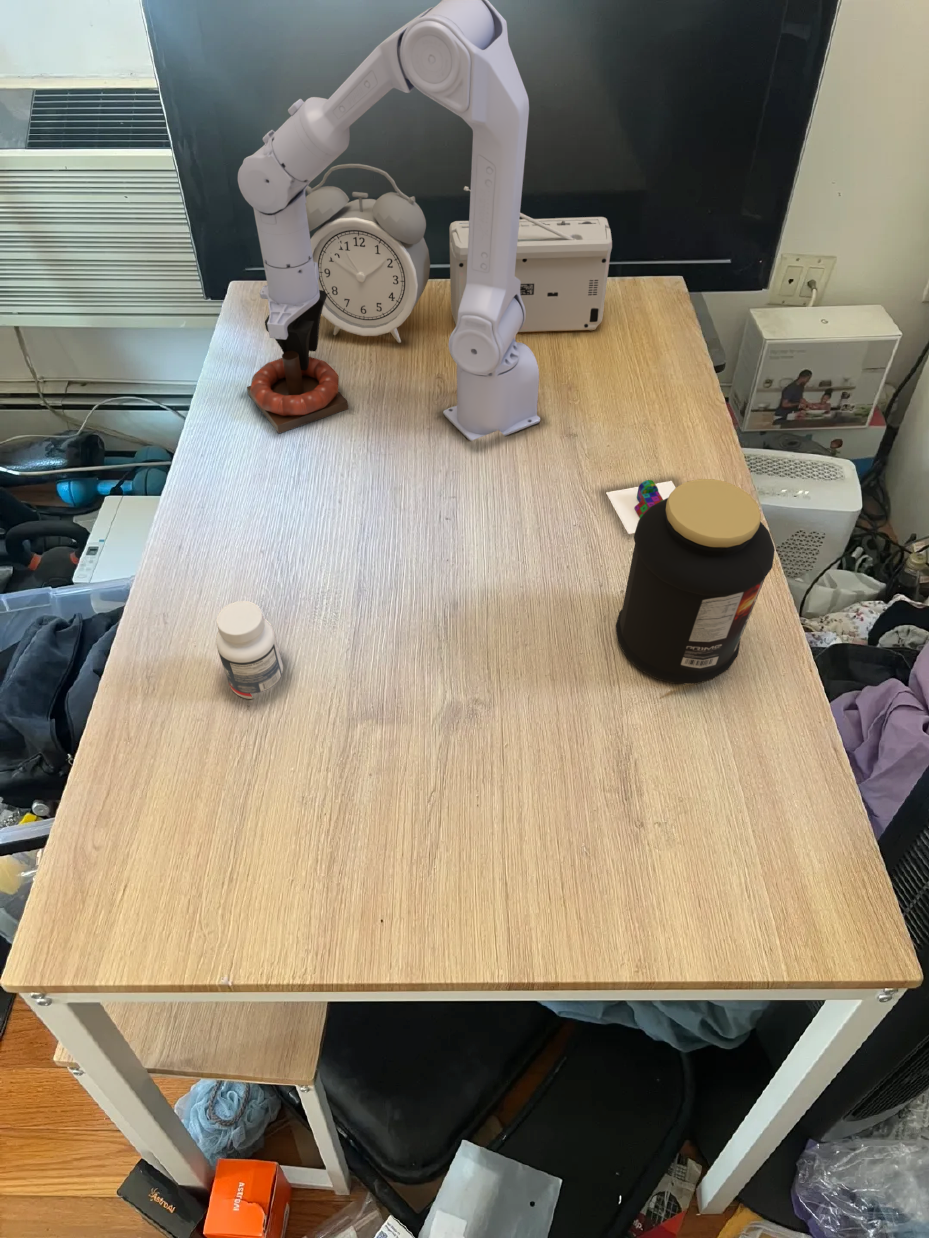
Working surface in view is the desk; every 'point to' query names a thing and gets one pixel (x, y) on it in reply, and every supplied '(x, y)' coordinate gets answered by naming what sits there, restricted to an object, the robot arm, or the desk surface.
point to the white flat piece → (638, 501)
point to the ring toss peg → (297, 386)
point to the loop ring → (294, 403)
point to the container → (693, 581)
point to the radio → (549, 270)
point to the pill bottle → (248, 649)
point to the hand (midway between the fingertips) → (304, 359)
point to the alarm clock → (367, 256)
